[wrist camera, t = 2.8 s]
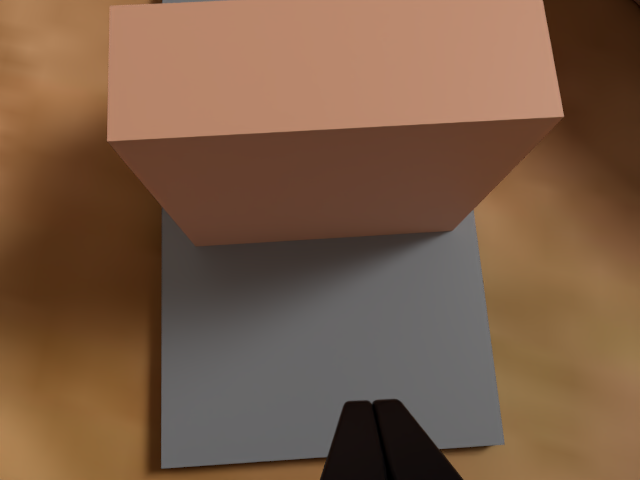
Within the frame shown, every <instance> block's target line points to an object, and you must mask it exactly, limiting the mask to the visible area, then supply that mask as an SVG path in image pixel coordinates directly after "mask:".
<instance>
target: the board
mask: <svg viewBox="0 0 640 480" xmlns="http://www.w3.org/2000/svg"><path fill="white" fill-rule="evenodd" d="M205 1H227V0H162V3H183V2H205ZM378 399H398V400H400V401H401V402H402V403H403V404H404V406H405V407H406V408H407V409H408V411H409V412H410V413H411V415H412V416H413V417H414V418H415V420H416V421H417V422H418V423H419V425H420V426H421V427H422V428H423V430H424V431H425V432H426V433H427V435H428V436H429V437H430V438H431V440H432V441H433V442H434V443H435V445H436V446H437V447H438V448H439V449H447V448H461V447H476V446H490V445H504V436H503V429H502V421H501V414H500V406H499V399H498V391H497V384H496V376H495V369H494V361H493V354H492V346H491V338H490V331H489V323H488V316H487V308H486V301H485V293H484V286H483V278H482V271H481V263H480V256H479V248H478V241H477V233H476V226H475V218H474V211H473V210H472V211H471V212H470V213H469V214H468V216H467V217H466V218H465V219H464V220H463V221H462V222H461V223H460V224H459V225H458V226H457V227H456V228H455V229H454V230H453V231H441V232H425V233H409V234H392V235H376V236H359V237H343V238H327V239H310V240H294V241H278V242H261V243H245V244H229V245H212V246H195V245H194V244H193V243H192V242H191V240H190V239H189V238H188V237H187V236H186V234H185V233H184V232H183V231H182V230H181V228H180V227H179V226H178V225H177V224H176V223H175V221H174V220H173V219H172V218H171V217H170V215H169V214H168V213H167V212H166V211H165V210H164V208H163V207H162V381H161V469H163V468H177V467H191V466H206V465H220V464H234V463H248V462H262V461H277V460H291V459H305V458H319V457H327V456H328V453H329V449H330V446H331V443H332V440H333V437H334V433H335V430H336V427H337V424H338V421H339V417H340V414H341V411H342V408H343V405H344V403H345V402H347V401H357V400H369V401H370V402H371V403H372V402H373V401H374V400H378Z"/></svg>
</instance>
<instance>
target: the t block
mask: <svg viewBox="0 0 640 480" xmlns="http://www.w3.org/2000/svg"><path fill="white" fill-rule="evenodd" d="M563 117H564V113H563V108H562V102H561V97H560V91H559V86H558V80H557V75H556V70H555V64H554V59H553V53H552V48H551V42H550V37H549V31H548V26H547V21H546V15H545V10H544V4H543V0H227V1H205V2H183V3H161V4H139V5H117V6H110V26H109V73H108V120H107V142H108V143H109V144H110V145H111V147H112V148H113V149H114V150H115V151H116V153H117V154H118V155H119V156H120V157H121V159H122V160H123V161H124V162H125V163H126V164H127V166H128V167H129V168H130V169H131V170H132V172H133V173H134V174H135V175H136V176H137V177H138V179H139V180H140V181H141V182H142V183H143V185H144V186H145V187H146V188H147V189H148V191H149V192H150V193H151V194H152V195H153V196H154V198H155V199H156V200H157V201H158V202H159V204H160V205H161V206H162V207H163V208H164V210H165V211H166V212H167V213H168V214H169V215H170V217H171V218H172V219H173V220H174V221H175V223H176V224H177V225H178V226H179V227H180V228H181V230H182V231H183V232H184V233H185V234H186V236H187V237H188V238H189V239H190V240H191V242H192V243H193V244H194V245H195V246H212V245H229V244H245V243H261V242H278V241H294V240H310V239H327V238H343V237H359V236H376V235H392V234H409V233H425V232H441V231H453V230H454V229H455V228H456V227H457V226H458V225H459V224H460V223H461V222H462V221H463V220H464V219H465V218H466V217H467V216H468V214H469V213H470V212H471V211H472V210H473V209H474V208H475V207H476V206H477V205H478V204H479V203H480V202H481V201H482V200H483V199H484V198H485V197H486V196H487V195H488V194H489V193H490V192H491V191H492V190H493V189H494V188H495V187H496V186H497V185H498V184H499V183H500V182H501V181H502V180H503V179H504V178H505V177H506V176H507V175H508V174H509V173H510V172H511V170H512V169H513V168H514V167H515V166H516V165H517V164H518V163H519V162H520V161H521V160H522V159H523V158H524V157H525V156H526V155H527V154H528V153H529V152H530V151H531V150H532V149H533V148H534V147H535V146H536V145H537V144H538V143H539V142H540V141H541V140H542V139H543V138H544V137H545V136H546V135H547V134H548V133H549V132H550V131H551V130H552V129H553V127H554V126H555V125H556V124H557V123H558V122H559V121H560V120H561V119H562V118H563Z"/></svg>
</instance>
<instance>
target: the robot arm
mask: <svg viewBox="0 0 640 480" xmlns="http://www.w3.org/2000/svg"><path fill="white" fill-rule="evenodd" d="M320 480H463V478H462V477H461V476H460V475H459V473H458V472H457V471H456V470H455V468H454V467H453V466H452V465H451V463H450V462H449V461H448V460H447V458H446V457H445V456H444V455H443V453H442V452H441V451H440V450H439V448H438V447H437V446H436V445H435V443H434V442H433V441H432V440H431V438H430V437H429V436H428V435H427V433H426V432H425V431H424V430H423V428H422V427H421V426H420V425H419V423H418V422H417V421H416V420H415V418H414V417H413V416H412V415H411V413H410V412H409V411H408V409H407V408H406V407H405V406H404V404H403V403H402V402H401V401H400V400H398V399H378V400H374V401H373V402H372V403H371V402H370V401H369V400H357V401H347V402H345V403H344V405H343V408H342V411H341V414H340V417H339V421H338V424H337V427H336V430H335V433H334V437H333V440H332V443H331V446H330V449H329V453H328V456H327V459H326V462H325V465H324V469H323V472H322V475H321V478H320Z"/></svg>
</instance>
